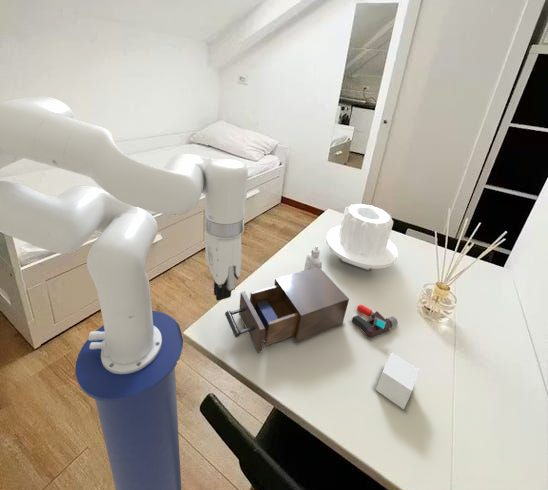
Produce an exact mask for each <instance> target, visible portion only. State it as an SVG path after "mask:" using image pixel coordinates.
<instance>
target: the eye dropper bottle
mask: <svg viewBox="0 0 548 490" xmlns="http://www.w3.org/2000/svg"><path fill="white" fill-rule="evenodd" d="M320 253H321V249H320V248H319V246H318V245H315V247H313V248H312V249H311V252H309V253H307V254H306V258H305V264H304V269H303V271H305V270H309V269H313V268H317V267H320V269H321V270H322V267H323V261H322V259H321V256H320Z"/></svg>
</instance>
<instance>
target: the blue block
mask: <svg viewBox="0 0 548 490" xmlns="http://www.w3.org/2000/svg"><path fill="white" fill-rule="evenodd" d="M256 313H257V314H258V316H259V318H260V320H261V322H262V324H263V325H264V327H265V329H266V331H267V324H268V322H270V321H273V320H276V319H278V317H277V316H276V314H275V312H274V311H273V309H272V307H271V306H270V304H269V303H268V301H267V300H265V301H262V302H258V303H257V305H256Z"/></svg>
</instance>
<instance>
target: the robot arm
mask: <svg viewBox="0 0 548 490" xmlns="http://www.w3.org/2000/svg"><path fill="white" fill-rule="evenodd" d="M23 159H26V160H28V161H33V162H37V163H40V164H44V165H47V166H51V167H53V168H58V169H61V170H64V171H67V172H72V173H75V174H79V175H82V176H86V177H88V178H90V179H91V180H92V181H93V182H94V183H95V184H96V185H97V186H98V187H96V186H93V185H92V186H91V185H76V186H72V187H70V188H67V189H66V190H64V191H62V192H61V193H60V194H58V195H57V196H53V195H52V196H51V195H48V194H45V193H42V192H40V191H37V190H35V189H33V188H31V187H29V186H26V185H24V184H20V183H17V182H12V181H6V180H0V233H1V234H3V235H6V236H9V237H11V238H14V239H17V240H19V241H22V242H25V243H27V244H30V245H32V246H34V247H38V248H40V249H43V250H46V251H48V252H51V253H55V254H60V255H68V254H71V253H74V252H75V251H77V250H79V249H80V248H81V247H82V246H83V245H85V243H86V242H87V241H88V240H89V239H90V238H91V237H92V235H93V234H94V233H95V232H96V231H97V232H100V233H101V234H100V235H99V236H98V237H97V238H96V240H95V241H94V242H93V244H92V246H91V247H90V249H89V252H88V254H87V257H86V268H87V271H88V273H89V275H90V278H91V279H92V281H93V283H94V286H95V290H96V293H97V298H98V302H99V303H98V304H99V307H100V312H101V313H100V314H101V318H102V324H103V325H104V330H105V332H100V331H97V330H94V331H93V330H92V331H90V332H89V334H88V337H87V340H89V341H97V340H103V342H91V344H90V349H101V350H102V351H101V361H102V364H103V366H104V367H105V368H106V369H107V370H108V371H109V372H112V373H115V374H129V373H133V372H136V371H138V370H140V369H142V368H144V367H145V366H147V365H148V364H150V363H151V362H152V361H153V360H154V359H155V357H156V356H157V355H158V353H159V351H160V349H161V345H162V336H161V333H160V331H159V329H158V328H156V327H155V326H154V325H153V315H152V311H153V306H152V295H151V285H150V279H149V275H148V274H147V272H146V269H145V268H146V267H145V266H146V265H145V264H146V260H147V256H148V255H149V253H150V251H151V248H152V245H153V243H154V241H155V239H156V237H157V235H158V229H159V226H158V222H157V220H156V218H155V217H154V216H153V214H151V213H150V212H152V213H157V214H162V215H167V216H169V215H170V216H180V215H184V214H187V213H189V212H191V211H192V210H193V209H194V208H196V206H197V205H198V203H199V201H200V199H201V196H202V194H203V195H204V198H205V200H204V201H205V202H204V205H205V206H204V208H205V209H204V211H205V212H204V232H205V244H204V245H205V247H204V248H205V249H204V260H205V263H206V265H207V268H208V269H209V272H210V275H211V277H212V279H213V295H214V296H215V299H216V301H222V300H226V299H229V298H231V297H232V291H234V290H236V281H239V280H240V279H241V274H242V260H243V259H242V258H243V257H242V256H243V255H242V254H243V251H242V235H243V234H244V232H245V224H246V223H245V222H246V207H247V206H246V205H247V204H246V203H247V192H248V180H249V179H248V178H249V176H248V175H249V170H248V168H247V165H246V164H245V162H244V163H243V162H242V161H240V160H237V159H234V158H218V159H216V158H211V157H207V156H202V155H198V154H193V153H185V152H184V153H179V154H176V155H174V156H173V157H171V158H170V159H169V160H168V162H167V163H166V164H165V166H164V167H162V168H161V167H158V166H154V165H150V164H147V163H144V162H142V161H139V160H137V159H134V158H132V157H131V156H129V155H127V154H126V153H124V152H123V151H122V150H121V149H119V147H118V146H117V144H116V143H115V140H114V136H113V134H112V132H111V131H110V130H109V129H108V128H105V127H103V126H99V125H96V124H92V123H90V122H87V121H83V120H80V119H77V117H76V115H75V113H74V112H73V110H72V109H71V107H69V106H68V105H67V104H66V103H65V102H63V101H61V100H60V99H57V98H54V97H52V96H49V95H33V96H27V97H20V98H16V99H10V100H9V99H8V100H4V101H1V102H0V170H1V169H3V168H5V167H8V166H10V165H12V164H14V163H16V162H18V161H21V160H23ZM235 279H236V280H235Z"/></svg>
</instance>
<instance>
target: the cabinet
mask: <svg viewBox="0 0 548 490" xmlns="http://www.w3.org/2000/svg"><path fill="white" fill-rule="evenodd" d="M275 285H278V286H279V287H280V289H281V290H282V292H283V293H284V295H285V296H286V297H287V299H288V300H289V302H290V303H291V305H292V306H293V307H294V309H295V310H296V312H297V313H298V315H299V320H298V325H297V331H296V335H293V336H291V337H292V338H293V340H294V342H295V343H300V342H303V341H304V340H308V339H310V338H312V337H315V336H317V335H320V334H322V333H325V332H327V331H330V330H333V329H336V328H337V327H341V326H342V325H343V323H344V319H345V317H346V312H347V309H348V305H349V301H350V298H349V297H348V296H347V294H346V293H344V292H343V291H342V290H341V289H340V287H338V285H337V284H336V283H335V282H334V281H333V280H332V279H331V278H330V276H328V274H326V272H324V271H323V269H322V268H321V269H320V267H317V268H313V269H309V270H305V271H304V270H302V271H297V272H295V273H291V274H287V275H283V276H280V277H276V278H274V285H273V286H275Z"/></svg>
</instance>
